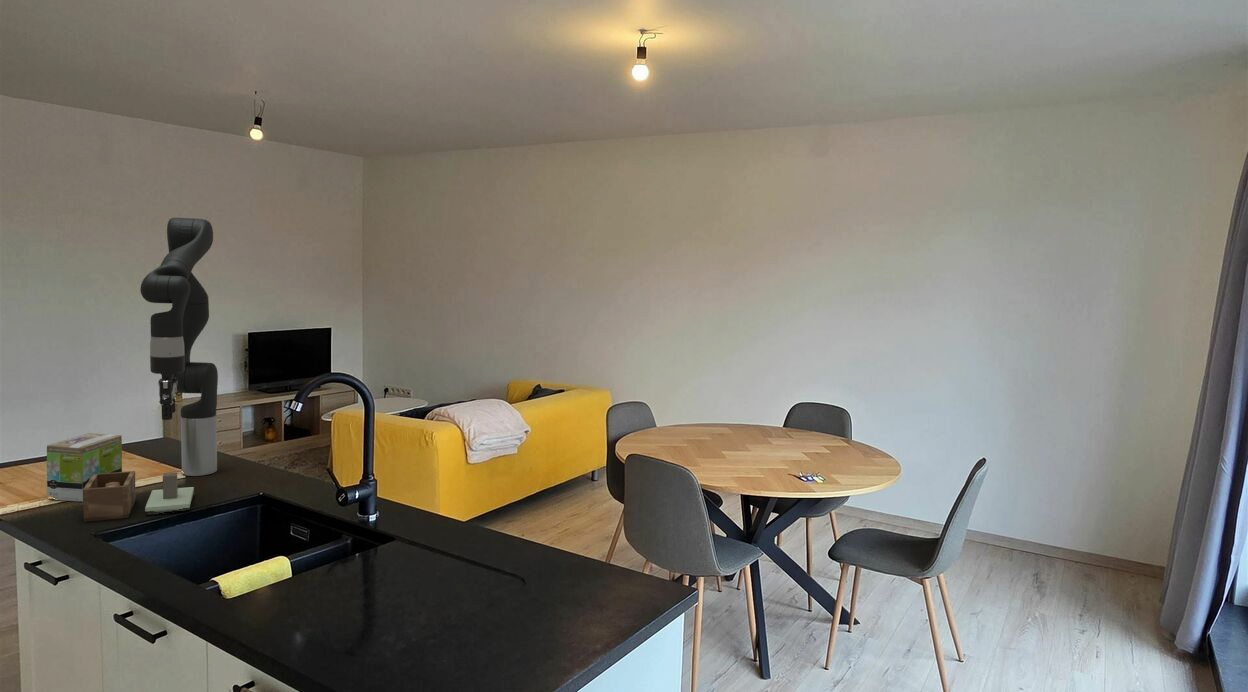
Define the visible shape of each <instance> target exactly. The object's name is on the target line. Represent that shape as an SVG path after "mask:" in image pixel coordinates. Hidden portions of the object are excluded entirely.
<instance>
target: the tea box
mask: <svg viewBox="0 0 1248 692" xmlns="http://www.w3.org/2000/svg"><path fill="white" fill-rule="evenodd" d="M122 436H123V435H120V434H109V433H108V434H107V433H105V434H104V433H92V432H91V433H89V432H87V433H84V434H82V435H78V436H75V437H71V438H68V439H64V440H62V441H58V442H54V443H51V444H47V445H46V497H47V496H51V497H53V498H55V499H57V500H56V501H63V502H64V501H65V502H82V503H83V489H84V487H85V486H86V484H87V483H88V481H89V480H90V479H91V477H92V476H93V474H99V473H113V472H123V461H122V459H123V452H122V449H123V441H122V440H123V438H122Z"/></svg>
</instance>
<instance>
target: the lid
mask: <svg viewBox="0 0 1248 692" xmlns="http://www.w3.org/2000/svg"><path fill="white" fill-rule="evenodd" d="M194 488H195V487H194V486H191V487H187V486H186V487H178V472H165V473H164V472H163V475H162V489H152V490H151V493H150V495H149V498H148V500H147V501H146V505H145V507H144V511H145V512H148V511H154V512H165V511H172V510H179V509H183V508H189V509H190V508H191V502H192V500H193V496H194V490H195V489H194Z"/></svg>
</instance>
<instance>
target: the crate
mask: <svg viewBox="0 0 1248 692" xmlns="http://www.w3.org/2000/svg"><path fill="white" fill-rule="evenodd" d="M136 490H137V489H136V470H130V471H129V470H127V471H122V472H113V473H99V474H93V476H92V477H91V479H90V480H89V481H88V483H87V484H86V486H85V487H84V489H83V502H82V504H83V505H82V506H83V508H82V509H83V522H84V523H86V522H87V523H88V522H98V521H109V520H119V519H128V518H129V516H130V514H131V511H132V510H133V508H134V505H135V503H136V500H137V499H136V498H137V497H136V495H137V493H136Z"/></svg>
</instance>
